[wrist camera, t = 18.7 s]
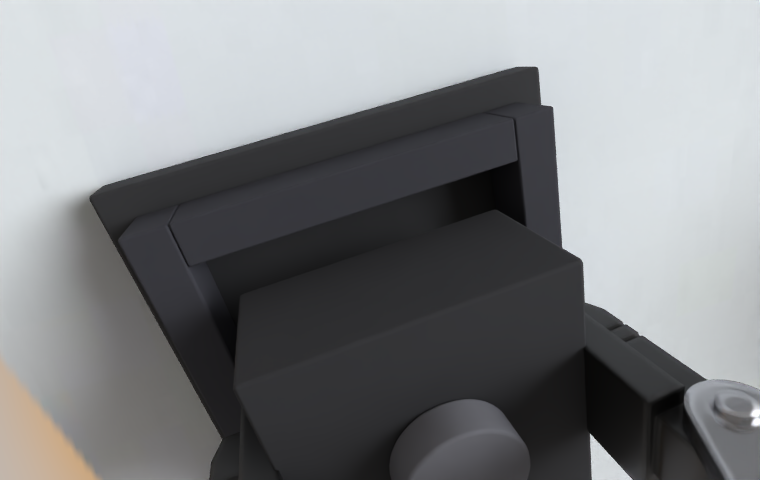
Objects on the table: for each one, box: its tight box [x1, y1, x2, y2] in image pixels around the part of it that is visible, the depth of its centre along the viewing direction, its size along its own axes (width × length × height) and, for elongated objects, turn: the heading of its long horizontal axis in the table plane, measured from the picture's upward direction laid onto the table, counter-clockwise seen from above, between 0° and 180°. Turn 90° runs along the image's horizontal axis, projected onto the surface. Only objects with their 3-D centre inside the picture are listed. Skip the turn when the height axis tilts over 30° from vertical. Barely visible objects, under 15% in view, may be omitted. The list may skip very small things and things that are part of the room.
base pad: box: [89, 67, 562, 440], centre depth 12 cm, size 11×11×2 cm
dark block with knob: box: [233, 210, 592, 480], centre depth 9 cm, size 6×6×4 cm
